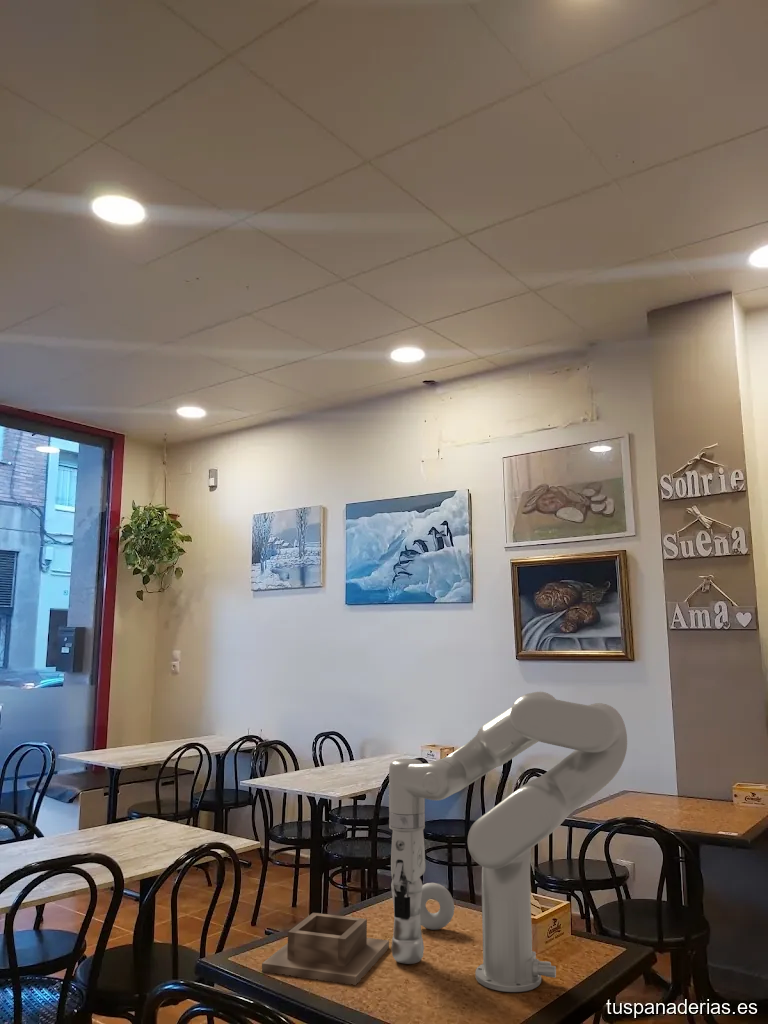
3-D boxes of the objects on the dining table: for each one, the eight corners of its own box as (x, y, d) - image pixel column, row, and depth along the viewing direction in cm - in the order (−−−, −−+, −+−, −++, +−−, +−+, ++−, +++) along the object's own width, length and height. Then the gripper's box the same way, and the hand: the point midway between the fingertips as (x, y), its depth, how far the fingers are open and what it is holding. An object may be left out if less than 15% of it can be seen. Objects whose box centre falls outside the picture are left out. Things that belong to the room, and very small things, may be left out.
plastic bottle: (421, 969, 154) (420, 862, 158) (388, 966, 155) (388, 861, 159) (426, 957, 160) (425, 854, 164) (394, 954, 161) (394, 853, 165)
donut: (410, 930, 176) (410, 883, 177) (412, 925, 179) (412, 879, 181) (454, 933, 174) (453, 886, 176) (455, 928, 177) (454, 881, 179)
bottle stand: (388, 947, 165) (388, 915, 166) (356, 985, 147) (356, 948, 148) (303, 937, 171) (304, 905, 173) (261, 971, 153) (262, 936, 154)
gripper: (412, 830, 153) (412, 928, 150) (434, 813, 169) (435, 901, 166) (376, 827, 156) (376, 924, 153) (402, 811, 172) (402, 898, 169)
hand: (407, 911), depth 159 cm, fingers closed on plastic bottle, 6 cm apart
